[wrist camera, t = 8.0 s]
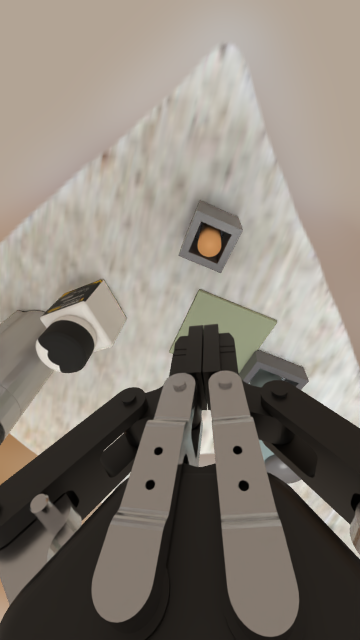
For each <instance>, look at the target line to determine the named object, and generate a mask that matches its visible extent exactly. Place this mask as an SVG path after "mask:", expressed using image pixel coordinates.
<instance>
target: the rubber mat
mask: <svg viewBox="0 0 360 640" xmlns="http://www.w3.org/2000/svg"><path fill="white" fill-rule="evenodd" d="M276 323H277V320H274V319H272V318H269V317H267V316H264V315H262V314H260V313H257V312H255V311H252V310H250V309H247V308H245V307H242V306H240V305H237V304H235V303H232V302H230V301H228V300H225V299H223V298H220V297H218V296H215V295H213V294H210V293H208V292H205V291H203V290H200V289H199V291H198V293H197V295H196V297H195V299H194V301H193V304H192V306H191V308H190V310H189V312H188V314H187V316H186V318H185V320H184V322H183V324H182V326H181V328H180V331H179V333H178V335H177V337H176V339H175V341H174V343H173V345H172V347H171V349H170V352H169V353H172V354H173V352H174V346H175V342H176V341H177V340H178V338H179V337H180V336H188V332H189V326H197V325H203V326H204V325H209V324H218V327H219V333H230V334H231V335H232V336H233V338H234V341H235V349H236V357H237V365H238V373H240V371H241V370H242V369H243V367H244V366H245V364H246V363H247V361H248V360H249V359H250V357H251V356H252V354H253V353H254V352H255V351H257V350H258V349H259V347H260V346H261V344H262V343H263V342H264V340H265V339H266V337H267V336H268V335H269V333H270V332H271V330H272V329H273V328H274V326H275V325H276Z"/></svg>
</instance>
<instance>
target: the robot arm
mask: <svg viewBox="0 0 360 640" xmlns="http://www.w3.org/2000/svg"><path fill="white" fill-rule="evenodd" d="M44 313H45V312H41V311H28V312H22V311H19V310H17V311H16V312H15V313H14V314H12V315H11V316H10V317H9V318H8V319H6V320H5V321H4V322H3V323H2V324H0V445H1V443H2V442H3V440H4V439H5V438H6V436H7V435H8V434H9V432H10V431H11V429H12V428H13V427H14V425H15V424H16V422H17V421H18V420H19V418H20V417H21V415H22V414H23V413H24V411H25V410H26V409H27V407H28V406H29V404H30V403H31V402H32V400H33V399H34V397H35V396H36V395H37V393H38V392H39V390H40V389H41V388H42V386H43V385H44V383H45V382H46V381H47V379H48V378H49V376H50V375H51V374H52V372H53V371H54V370H53V369H51V368H49V367H48V366H47V365H45V364H44V363H43V362H42V361H41V359H40V358H39V356H38V354H37V351H36V341H37V339H38V338H39V337H40V336H41V334H42V333H43V332H44V331H45V330H46V329H47V328H46V326H45V325H44V324H43V323H42V321H41V320H40V317H41V316H42V315H43V314H44ZM207 404H208V410H211V415H212V429H213V440H214V450H215V460H216V464H212V465H208V466H204V467H198V466H199V455H200V446H201V437H202V428H203V423H202V417H201V413H202V410H207ZM123 433H124V434H123ZM122 434H123V435H122ZM120 435H121V436H120ZM119 436H120V437H119ZM118 437H119V438H118ZM117 438H118V439H117ZM116 439H117V440H116ZM115 440H116V441H115ZM259 440H262V442H263V443H264V445H265V446H266V447H267V448H268V449H269V450H270V451H272V452H273V453H274V454H275V455H276V456H277V457H278V458H279V459H280V460H281V461H282V462H283V463H284V464H286V465H287V466H288V467H289V468H290V469H291V470H292V471H293V472H294V473H295V474H296V475H297V476H298V477H300V478H301V479H302V480H303V481H304V482H305V483H306V484H307V485H308V486H309V487H310V488H311V489H313V490H314V491H315V492H316V493H317V494H318V495H319V496H320V497H321V498H322V499H323V500H324V501H325V502H327V503H328V504H329V505H330V506H331V507H332V508H333V509H334V510H335V511H336V512H337V513H338V514H339V515H341V516H342V517H343V518H344V519H345V520H346V521H347V522H348V523H349V524H350V536H351V540H352V543H353V545H354V547H355V548H356V550H357V551H358V553H359V554H360V428H358V427H357V426H355V425H354V424H352V423H351V422H349V421H348V420H346V419H345V418H343V417H341V416H340V415H338V414H337V413H335V412H334V411H332V410H331V409H329V408H328V407H326V406H324V405H323V404H321V403H320V402H318V401H317V400H315V399H314V398H312V397H311V396H309V395H307V394H306V393H304V392H303V391H301V390H300V389H298V388H297V387H295V386H294V385H292V384H290V383H288V382H286V381H282V380H272V381H269V382H267V383H265V384H264V385H263V386H262V387H257V386H253V385H250V384H248V383H246V382H244V381H243V380H242V379H241V378H240V376H239V373H238V365H237V357H236V349H235V341H234V338H233V336H232V335H231V334H230V333H219V327H218V324H209V325H204V326H203V325H197V326H189V332H188V336H180V337H179V338H178V340H177V341H176V342H175V346H174V352H173V358H172V363H171V369H170V375H169V378H167V380H166V381H165V383H164V385H163V386H162V387H160V388H159V389H157V390H154V391H151V392H147V393H145V392H144V391H143V390H142V389H140V388H135V387H132V388H127V389H125V390H123V391H121V392H120V393H118V394H117V395H116V396H115V397H113V398H112V399H111V400H109V401H108V402H107V403H106V404H104V405H103V406H102V407H100V408H99V409H98V410H97V411H95V412H94V413H93V414H91V415H90V416H89V417H88V418H86V419H85V420H84V421H82V422H81V423H80V424H78V425H77V426H76V427H75V428H73V429H72V430H71V431H69V432H68V433H67V434H66V435H64V436H63V437H62V438H60V439H59V440H58V441H57V442H55V443H54V444H53V445H51V446H50V447H49V448H48V449H46V450H45V451H44V452H42V453H41V454H40V455H39V456H37V457H36V458H35V459H34V460H32V461H31V462H30V463H28V464H27V465H26V466H25V467H23V468H22V469H21V470H19V471H18V472H17V473H16V474H14V475H13V476H12V477H10V478H9V479H8V480H6V481H5V482H4V483H2V484H1V485H0V579H1V582H2V584H3V587H4V590H5V593H6V596H7V599H8V601H9V604H10V606H9V608H8V610H7V611H6V613H5V615H4V617H3V619H2V621H1V623H0V640H360V559H359V558H358V557H357V556H356V555H355V554H354V553H353V552H352V551H351V550H350V549H349V547H348V546H347V545H346V544H345V543H344V542H343V541H342V540H341V539H340V538H339V537H338V536H337V535H336V534H335V533H334V532H333V531H332V530H331V529H330V528H329V527H328V526H327V524H326V523H325V522H324V521H323V520H322V519H321V518H320V517H319V516H318V515H317V514H316V513H315V512H314V511H313V510H312V509H311V508H310V507H309V506H308V505H307V504H306V503H305V501H304V500H303V499H302V498H301V497H300V496H299V495H298V494H297V493H296V492H295V491H294V490H293V489H292V488H291V487H290V486H289V485H288V484H286V483H285V482H284V481H282V480H281V479H279V478H278V477H276V476H274V475H273V474H271V473H268V472H267V471H266V467H265V463H264V459H263V455H262V451H261V447H260V443H259ZM114 441H115V442H114ZM112 442H114V443H112ZM111 443H112V444H111ZM110 444H111V445H110ZM109 445H110V446H109ZM108 446H109V447H108ZM107 447H108V448H107ZM106 448H107V449H106ZM105 449H106V450H105ZM104 450H105V451H104ZM130 472H131V473H130ZM129 473H130V477H129V478H128V479H126V480H125V481H124V482H123V483H121V484H120V485H119V486H118V487H117V488H116V489H115V490H114V491H113V493H112V494H111V495H110V496H109V497H108V498H107V499H106V500H105V501H104V502H103V503H102V504H101V506H99V507H98V509H97V510H96V511H95V512H94V513H93V514H92V515H91V516H90V517H89V518H88V519H87V520H86V521H85V523H84V524H83V525H82V526H81V521H82V520H83V519H84V518H85V517H86V516H87V515H88V514H89V513H90V512H91V511H92V510H93V509H94V508H95V507H96V506H97V505H98V504H99V503H100V502H101V501H102V500H103V499H104V498H105V497H106V496H107V495H108V494H109V493H110V492H111V491H112V490H113V489H114V488H115V487H116V486H117V485H118V484H119V483H120V482H121V481H122V480H123V479H124V478H125V477H126V476H127V475H128V474H129Z"/></svg>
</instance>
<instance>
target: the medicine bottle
mask: <svg viewBox="0 0 360 640" xmlns="http://www.w3.org/2000/svg"><path fill="white" fill-rule="evenodd" d="M40 320H41V321H42V323H43V324H44V325H45V326H46V328H47V329H46V330H45V331H44V332H43V333H42V334H41V336H40V337H39V338H38V339H37V341H36V351H37V354H38V356H39V358H40V359H41V361H42V362H43V363H44V364H45V365H47V366H48V367H49V368H51V369H53V370H55V371H58V372H62V373H73V372H77V371H79V370H81V369H82V368H83V367H84V366H85V364H86V363H87V361H88V359H89V357H90V356H91V354H92V352H96V351H99V350H102V349H106V348H109V347H112V346H113V344H114V342H115V340H116V339H117V337H118V335H119V333H120V331H121V329H122V327H123V325H124V323H125V321H126V316H125V315H124V313H123V311H122V310H121V308H120V306H119V305H118V303H117V301H116V300H115V298H114V296H113V294H112V293H111V291H110V289H109V288H108V286H107V284H106V283H105V281H104V280H99V281H96V282H94V283H91V284H89V285H86V286H83V287H81V288H78V289H76V290H73V291H70V292H68V293H65V294H64V295H63V296H62V297H61V298H60V299H59V300H58V301H57V302H56V303H54V304H53V305H52V306H51V307H50V308H49V309H48V310H47V311H46V312H45V313H44V314H43V315H42V316H41V317H40Z"/></svg>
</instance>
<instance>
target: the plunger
mask: <svg viewBox="0 0 360 640" xmlns="http://www.w3.org/2000/svg"><path fill="white" fill-rule="evenodd" d="M220 249H221V230H220V229H218V228H215V227H213V226H211V225H208V224H206V223H204V224H203V225H202V226H201V229H200V234H199V240H198V250H199V252H200V253H201V254H202V255H203V256H206V257H213V256H215V255H217V254H218V253H219V251H220Z"/></svg>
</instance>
